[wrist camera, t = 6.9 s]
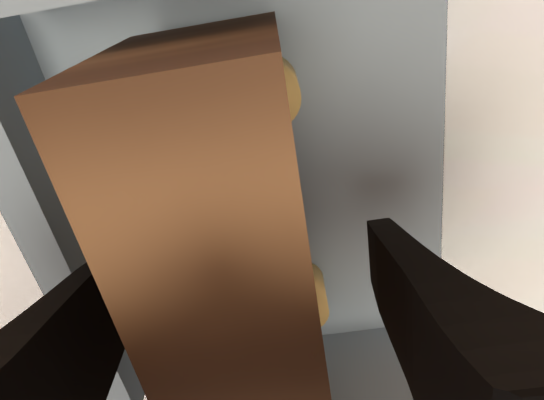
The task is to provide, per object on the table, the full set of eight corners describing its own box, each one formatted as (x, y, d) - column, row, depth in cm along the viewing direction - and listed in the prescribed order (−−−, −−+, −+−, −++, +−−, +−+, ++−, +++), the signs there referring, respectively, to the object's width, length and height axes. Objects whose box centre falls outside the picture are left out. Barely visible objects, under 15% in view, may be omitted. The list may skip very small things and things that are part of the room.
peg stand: (431, 333, 21) (487, 460, 15) (143, 369, 22) (102, 500, 16) (438, -137, 12) (568, -215, 7) (-35, -46, 13) (-238, -54, 8)
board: (323, 346, 17) (349, 522, 11) (226, 358, 17) (207, 535, 12) (274, 11, 11) (280, 51, 6) (130, 36, 11) (13, 96, 6)
